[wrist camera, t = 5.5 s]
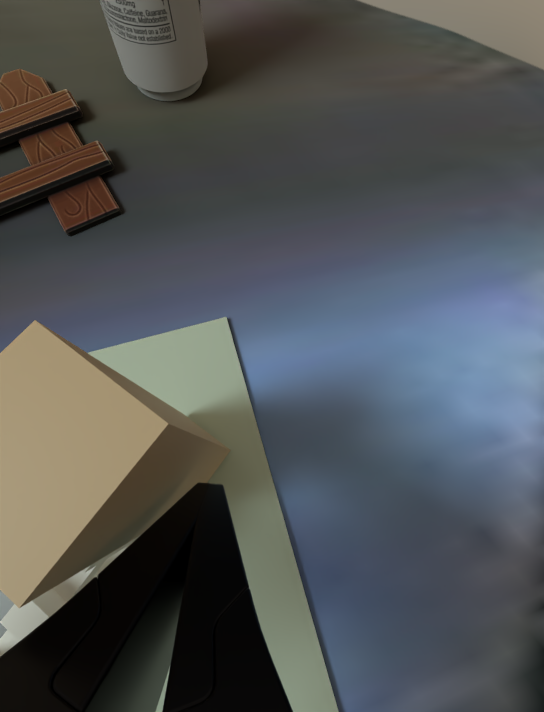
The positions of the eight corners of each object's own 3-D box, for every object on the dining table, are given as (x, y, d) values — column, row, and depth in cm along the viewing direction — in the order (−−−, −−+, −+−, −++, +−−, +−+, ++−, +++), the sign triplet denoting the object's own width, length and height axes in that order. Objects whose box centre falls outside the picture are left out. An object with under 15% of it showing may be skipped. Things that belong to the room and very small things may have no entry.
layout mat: (403, 939, 12) (407, 952, 11) (-125, 1216, 10) (-137, 1241, 9) (226, 318, 19) (226, 316, 19) (-99, 402, 17) (-105, 401, 17)
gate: (63, 679, 13) (-879, 1717, 2) (11, 628, 14) (-979, 1286, 3) (230, 450, 16) (168, 423, 5) (183, 414, 17) (35, 320, 6)
